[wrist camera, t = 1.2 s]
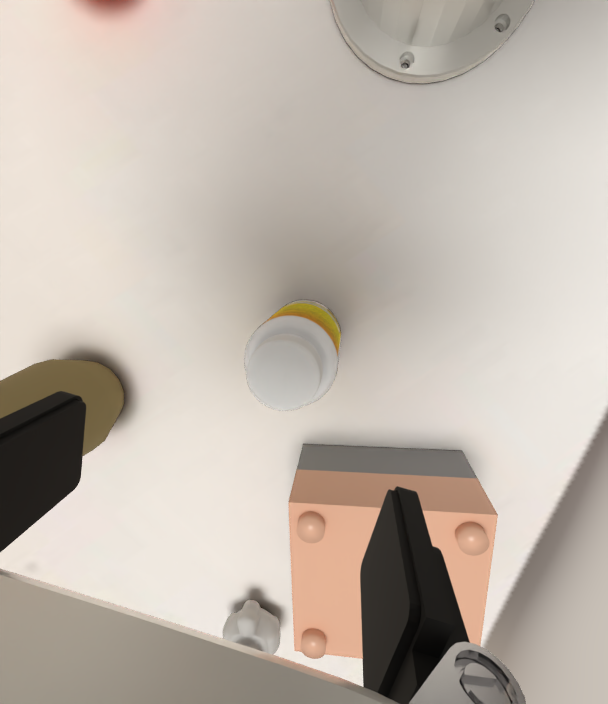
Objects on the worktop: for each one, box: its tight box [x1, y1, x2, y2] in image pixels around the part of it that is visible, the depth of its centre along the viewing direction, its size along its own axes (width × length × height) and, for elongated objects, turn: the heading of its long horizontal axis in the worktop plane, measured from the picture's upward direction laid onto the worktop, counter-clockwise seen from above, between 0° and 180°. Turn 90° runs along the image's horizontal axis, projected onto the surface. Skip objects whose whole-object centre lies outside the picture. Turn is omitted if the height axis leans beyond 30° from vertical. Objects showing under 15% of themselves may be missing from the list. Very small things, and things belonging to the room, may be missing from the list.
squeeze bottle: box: [0, 359, 124, 456], centre depth 24 cm, size 8×8×18 cm
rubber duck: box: [223, 600, 280, 655], centre depth 33 cm, size 5×7×8 cm
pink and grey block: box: [289, 444, 498, 659], centre depth 28 cm, size 13×13×8 cm
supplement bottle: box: [244, 300, 341, 411], centre depth 24 cm, size 6×6×10 cm
